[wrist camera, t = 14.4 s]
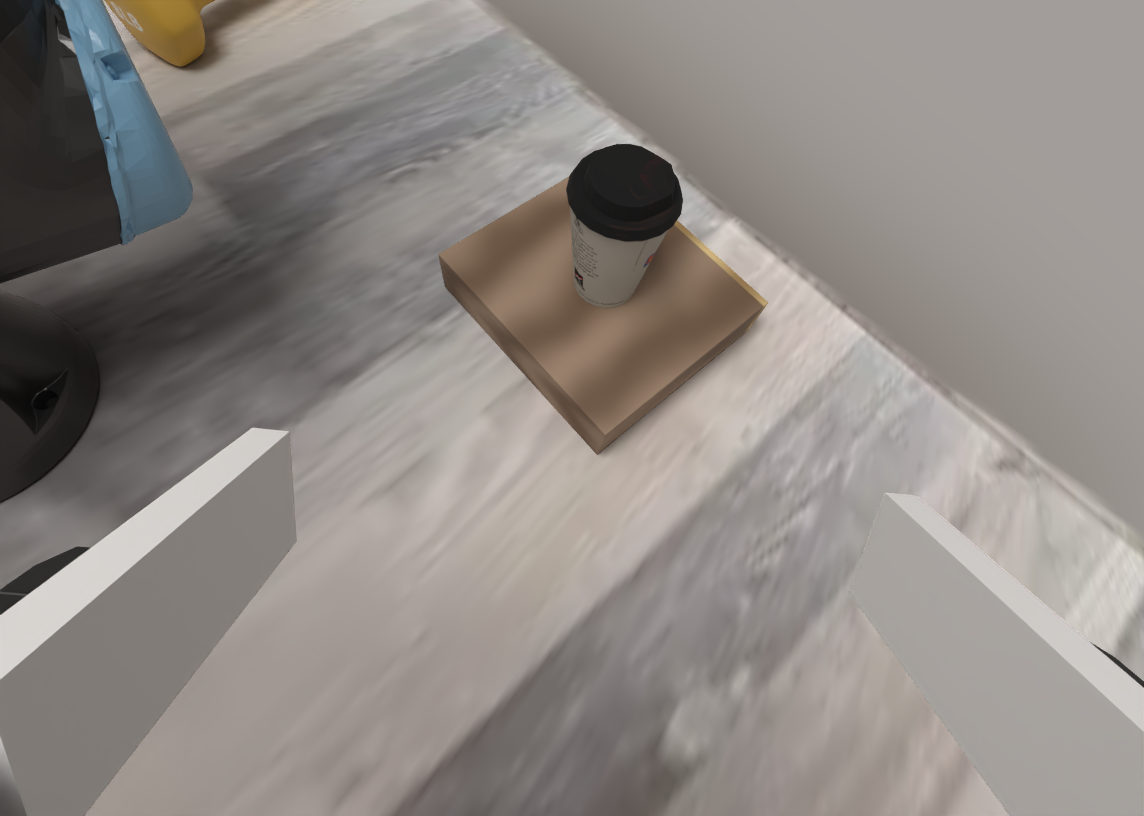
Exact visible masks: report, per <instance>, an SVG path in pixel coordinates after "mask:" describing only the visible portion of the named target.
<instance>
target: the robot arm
mask: <svg viewBox="0 0 1144 816" xmlns="http://www.w3.org/2000/svg"><path fill="white" fill-rule="evenodd" d="M192 193H193V190H192V184H191V182H190V179H189V177H188V175H187V172H186V170H185V168H184V166H183V164H182V162H181V160H180V158H179V156H178V154H177V152H176V150H175V148H174V145H173V143H172V141H171V139H170V137H169V135H168V133H167V131H166V129H165V127H164V125H163V123H162V121H161V119H160V117H159V115H158V113H157V111H156V109H155V106H154V104H153V102H152V100H151V98H150V96H149V94H148V92H147V90H146V88H145V86H144V84H143V82H142V80H141V78H140V76H139V74H138V72H137V70H136V68H135V66H134V64H133V62H132V60H131V58H130V56H129V54H128V52H127V50H126V48H125V45H124V43H123V41H122V39H121V37H120V35H119V33H118V31H117V29H116V27H115V25H114V23H113V21H112V19H111V17H110V15H109V13H108V11H107V9H106V7H105V5H104V3H103V1H102V0H0V283H3V282H6V281H9V280H12V279H15V278H18V277H21V276H24V275H27V274H30V273H33V272H36V271H39V270H42V269H45V268H48V267H51V266H54V265H57V264H60V263H63V262H66V261H69V260H72V259H75V258H78V257H81V256H84V255H87V254H90V253H93V252H96V251H99V250H102V249H105V248H108V247H111V246H114V245H117V244H122V245H125V244H128V242H131V241H132V240H133V239H134V236H136V235H139V234H141V233H144V232H146V231H149V230H151V229H153V228H156V227H158V226H161V225H163V224H166V223H168V222H171V221H173V220H176V219H178V218H179V217H180V216H181V215H183V214H184V213H185V212H186V211H187V209H188V207H189V205H190V203H191V201H192ZM98 383H99V375H98V367H97V362H96V359H95V356H94V354H93V351H92V349H91V348H90V346H89V344H88V343H87V341H86V340H85V339H84V337H83V336H82V335H81V334H80V333H79V332H78V331H77V330H75V329H74V328H73V327H72V326H70V325H69V324H67V323H66V322H65V321H63V320H62V319H60V318H59V317H58V316H56V315H55V314H53V313H52V312H51V311H49V310H47V309H46V308H44V307H42V306H40V305H38V304H36V303H34V302H32V301H30V300H27V299H25V298H22V297H18V296H15V295H12V294H8V293H5V292H2V291H0V501H2V500H4V499H6V498H8V497H10V496H12V495H14V494H16V493H17V492H19V491H21V490H22V489H24V488H26V487H27V486H29V485H30V484H32V483H33V482H34V481H36V480H37V479H38V478H40V477H41V476H42V475H44V474H45V473H46V472H47V471H48V470H50V469H51V468H52V467H53V466H54V465H55V464H56V463H57V462H58V461H59V460H60V459H61V458H62V457H63V456H64V455H65V454H66V453H67V452H68V450H69V449H70V448H71V447H72V446H73V444H74V443H75V442H76V440H77V439H78V437H79V436H80V434H81V433H82V431H83V430H84V428H85V426H86V424H87V422H88V420H89V418H90V416H91V413H92V411H93V408H94V405H95V401H96V398H97V392H98ZM296 541H297V540H296V525H295V509H294V494H293V479H292V463H291V448H290V432H289V431H280V430H270V429H260V428H251V429H250V430H249V431H247V432H246V433H245V434H243V435H242V436H241V437H239V438H238V439H237V440H235V441H234V442H233V443H231V444H230V445H229V446H227V447H226V448H224V449H223V450H222V451H220V452H219V453H218V454H216V455H215V456H214V457H212V458H211V459H210V460H208V461H207V462H206V463H204V464H203V465H202V466H200V467H199V468H198V469H196V470H195V471H194V472H192V473H191V474H190V475H188V476H187V477H185V478H184V479H183V480H181V481H180V482H179V483H177V484H176V485H175V486H173V487H172V488H171V489H169V490H168V491H167V492H165V493H164V494H163V495H161V496H160V497H159V498H157V499H156V500H155V501H153V502H152V503H151V504H149V505H148V506H147V507H145V508H144V509H142V510H141V511H140V512H138V513H137V514H136V515H134V516H133V517H132V518H130V519H129V520H128V521H126V522H125V523H124V524H122V525H121V526H120V527H118V528H117V529H116V530H114V531H113V532H112V533H110V534H109V535H108V536H106V537H105V538H103V539H102V540H101V541H99V542H98V543H97V544H95V545H94V546H93V547H91V548H88V547H75V548H73V549H71V550H69V551H66V552H64V553H62V554H60V555H57V556H55V557H53V558H51V559H48V560H46V561H44V562H42V563H39V564H37V565H35V566H33V567H32V568H31V569H29V570H28V571H26V572H25V573H23V574H22V575H21V576H19V577H18V578H16V579H15V580H13V581H12V582H11V583H9V584H8V585H6V586H5V587H3V588H2V589H1V590H0V816H84V815H85V814H86V812H87V811H88V810H89V809H90V807H91V806H92V805H93V803H94V802H95V801H96V800H97V798H98V797H99V796H100V794H101V793H102V792H103V790H104V789H105V788H106V787H107V785H108V784H109V783H110V781H111V780H112V779H113V778H114V776H115V775H116V774H117V772H118V771H119V770H120V769H121V767H122V766H123V765H124V763H125V762H126V761H127V759H128V758H129V757H130V756H131V754H132V753H133V752H134V750H135V749H136V748H137V747H138V745H139V744H140V743H141V741H142V740H143V739H144V738H145V736H146V735H147V734H148V732H149V731H150V730H151V729H152V727H153V726H154V725H155V723H156V722H157V721H158V719H159V718H160V717H161V716H162V714H163V713H164V712H165V710H166V709H167V708H168V707H169V705H170V704H171V703H172V701H173V700H174V699H175V698H176V696H177V695H178V694H179V692H180V691H181V690H182V688H183V687H184V686H185V685H186V683H187V682H188V681H189V679H190V678H191V677H192V676H193V674H194V673H195V672H196V670H197V669H198V668H199V667H200V665H201V664H202V663H203V661H204V660H205V659H206V658H207V656H208V655H209V654H210V652H211V651H212V650H213V648H214V647H215V646H216V645H217V643H218V642H219V641H220V639H221V638H222V637H223V636H224V634H225V633H226V632H227V630H228V629H229V628H230V627H231V625H232V624H233V623H234V621H235V620H236V619H237V617H238V616H239V615H240V614H241V612H242V611H243V610H244V608H245V607H246V606H247V605H248V603H249V602H250V601H251V599H252V598H253V597H254V596H255V594H256V593H257V592H258V590H259V589H260V588H261V586H262V585H263V584H264V583H265V581H266V580H267V579H268V577H269V576H270V575H271V574H272V572H273V571H274V570H275V568H276V567H277V566H278V565H279V563H280V562H281V561H282V559H283V558H284V557H285V556H286V554H287V553H288V552H289V550H290V549H291V548H292V546H293V545H294V544H295V543H296ZM849 593H850V595H851V596H852V597H853V599H854V600H855V602H856V603H857V604H858V606H859V607H860V608H861V610H862V611H863V613H864V614H865V615H866V617H867V618H868V620H869V621H870V622H871V624H872V625H873V627H874V628H875V629H876V631H877V632H878V633H879V635H880V636H881V638H882V639H883V640H884V642H885V643H886V645H887V646H888V647H889V649H890V650H891V652H892V653H893V654H894V656H895V657H896V659H897V660H898V661H899V663H900V664H901V665H902V667H903V668H904V670H905V671H906V672H907V674H908V675H909V677H910V678H911V679H912V681H913V682H914V684H915V685H916V686H917V688H918V689H919V690H920V692H921V693H922V695H923V696H924V697H925V699H926V700H927V702H928V703H929V704H930V706H931V707H932V709H933V710H934V711H935V713H936V714H937V716H938V717H939V718H940V720H941V721H942V722H943V724H944V725H945V727H946V728H947V729H948V731H949V732H950V734H951V735H952V736H953V738H954V739H955V741H956V742H957V743H958V745H959V746H960V747H961V749H962V750H963V752H964V753H965V754H966V756H967V757H968V759H969V760H970V761H971V763H972V764H973V766H974V767H975V768H976V770H977V771H978V773H979V774H980V775H981V777H982V778H983V779H984V781H985V782H986V784H987V785H988V786H989V788H990V789H991V791H992V792H993V793H994V795H995V796H996V798H997V799H998V800H999V802H1000V803H1001V804H1002V806H1003V807H1004V809H1005V810H1006V811H1007V813H1008V814H1009V816H1144V681H1142V680H1141V679H1140V678H1139V677H1138V676H1137V675H1135V674H1134V673H1133V672H1132V671H1131V670H1129V669H1128V668H1127V667H1126V666H1125V665H1123V664H1122V663H1121V662H1120V661H1119V660H1117V659H1116V658H1115V657H1113V656H1112V655H1110V654H1108V653H1107V652H1105V651H1104V650H1102V649H1100V648H1099V647H1097V646H1096V645H1094V644H1092V643H1091V642H1089V641H1088V640H1087V639H1086V638H1084V637H1083V636H1082V635H1081V634H1080V633H1078V632H1077V631H1076V630H1075V629H1074V628H1073V627H1071V626H1070V625H1069V624H1068V623H1067V622H1066V621H1064V620H1063V619H1062V618H1061V617H1060V616H1058V615H1057V614H1056V613H1055V612H1054V611H1053V610H1051V609H1050V608H1049V607H1048V606H1047V605H1045V604H1044V603H1043V602H1042V601H1041V600H1040V599H1038V598H1037V597H1036V596H1035V595H1034V594H1032V593H1031V592H1030V591H1029V590H1028V589H1027V588H1025V587H1024V586H1023V585H1022V584H1021V583H1020V582H1018V581H1017V580H1016V579H1015V578H1014V577H1012V576H1011V575H1010V574H1009V573H1008V572H1007V571H1005V570H1004V569H1003V568H1002V567H1001V566H999V565H998V564H997V563H996V562H995V561H994V560H992V559H991V558H990V557H989V556H988V555H987V554H985V553H984V552H983V551H982V550H981V549H979V548H978V547H977V546H976V545H975V544H974V543H972V542H971V541H970V540H969V539H968V538H966V537H965V536H964V535H963V534H962V533H961V532H959V531H958V530H957V529H956V528H955V527H953V526H952V525H951V524H950V523H949V522H948V521H946V520H945V519H944V518H943V517H942V516H941V515H939V514H938V513H937V512H936V511H935V510H933V509H932V508H931V507H930V506H929V505H928V504H926V503H925V502H924V501H923V500H922V499H920V498H919V497H918V496H915V495H905V494H895V493H886V492H885V493H884V495H883V498H882V501H881V504H880V506H879V509H878V512H877V515H876V518H875V520H874V523H873V526H872V529H871V531H870V534H869V537H868V540H867V542H866V545H865V548H864V551H863V553H862V556H861V559H860V562H859V564H858V567H857V570H856V573H855V575H854V578H853V581H852V584H851V587H850V589H849Z"/></svg>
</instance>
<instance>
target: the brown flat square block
mask: <svg viewBox="0 0 1144 816" xmlns="http://www.w3.org/2000/svg"><path fill="white" fill-rule="evenodd" d="M568 180H569V177H568V178H566V179H564V180H563V181H561V182H559V183H558V184H556V185H554V186H553V187H551V188H549V189H547V190H546V191H544V192H542V193H541V194H539V195H537V196H536V197H534V198H532V199H531V200H529V201H527V202H526V203H524V204H522V205H520V206H519V207H517V208H515V209H514V210H512V211H510V212H509V213H507V214H505V215H504V216H502V217H500V218H499V219H497V220H495V221H494V222H492V223H490V224H488V225H487V226H485V227H483V228H482V229H480V230H478V231H477V232H475V233H473V234H472V235H470V236H468V237H467V238H465V239H463V240H461V241H460V242H458V243H456V244H455V245H453V246H451V247H450V248H448V249H446V250H445V251H443V252H441V253H440V254H439V259H440V264H441V269H442V274H443V279H444V284H445V287H446V288H447V290H448V291H449V292H450V293H451V294H452V295H453V296H454V297H455V298H456V299H457V301H458V302H459V303H460V304H461V305H462V306H463V307H464V308H465V309H466V311H467V312H468V313H469V314H470V315H471V316H472V317H473V318H474V319H475V320H476V322H477V323H478V324H479V325H480V326H481V327H482V328H483V329H484V330H485V331H486V333H487V334H488V335H489V336H490V337H491V338H492V339H493V340H494V341H495V342H496V344H497V345H498V346H499V347H500V348H501V349H502V350H503V351H504V352H505V354H506V355H507V356H508V357H509V358H510V359H511V360H512V361H513V362H514V363H515V365H516V366H517V367H518V368H519V369H520V370H521V371H522V372H523V373H524V374H525V376H526V377H527V378H528V379H529V380H530V381H531V382H532V383H533V384H534V386H535V387H536V388H537V389H538V390H539V391H540V392H541V393H542V394H543V395H544V397H545V398H546V399H547V400H548V401H549V402H550V403H551V404H552V405H553V406H554V408H555V409H556V410H557V411H558V412H559V413H560V414H561V415H562V416H563V417H564V419H565V420H566V421H567V422H568V423H569V424H570V425H571V426H572V427H573V429H574V430H575V431H576V432H577V433H578V434H579V435H580V436H581V437H582V438H583V440H584V441H585V442H586V443H587V444H588V445H589V446H590V447H591V448H592V449H593V451H594V452H595V453H596V454H599V453H600V452H601V451H602V450H603V449H605V448H606V447H607V446H608V445H609V444H611V443H612V442H613V441H614V440H616V439H617V438H618V437H619V436H620V435H622V434H623V433H624V432H625V431H626V430H628V429H629V428H630V427H631V426H633V425H634V424H635V423H636V422H637V421H639V420H640V419H641V418H642V417H643V416H645V415H646V414H647V413H648V412H649V411H651V410H652V409H653V408H654V407H656V406H657V405H658V404H659V403H660V402H662V401H663V400H664V399H665V398H666V397H668V396H669V395H670V394H671V393H673V392H674V391H675V390H676V389H677V388H679V387H680V386H681V385H682V384H683V383H685V382H686V381H687V380H688V379H690V378H691V377H692V376H693V375H694V374H696V373H697V372H698V371H699V370H700V369H702V368H703V367H704V366H705V365H706V364H708V363H709V362H710V361H711V360H713V359H714V358H715V357H716V356H717V355H719V354H720V353H721V352H722V351H723V350H725V349H726V348H727V347H728V346H730V345H731V344H732V343H733V342H734V341H736V340H737V339H738V338H739V337H740V336H742V335H743V334H744V333H745V332H746V331H747V330H749V328H750V327H751V326H752V324H753V323H754V322H755V320H756V319H757V318H758V316H759V315H760V313H761V312H762V311H763V309H764V308H765V307H766V305H767V304H768V302H767V301H766V300H765V299H764V298H763V297H762V296H760V295H759V294H758V293H757V292H756V291H755V290H754V289H753V288H752V287H751V286H749V285H748V284H747V283H746V282H745V281H744V280H743V279H742V278H741V277H739V276H738V275H737V274H736V273H735V272H734V271H733V270H732V269H731V268H729V267H728V266H727V265H726V264H725V263H724V262H723V261H722V260H721V259H720V258H718V257H717V256H716V255H715V254H714V253H713V252H712V251H711V250H710V249H708V248H707V247H706V246H705V245H704V244H703V243H702V242H701V241H700V240H699V239H697V238H696V237H695V236H694V235H693V234H692V233H691V232H690V231H689V230H687V229H686V228H685V227H684V226H683V225H682V224H681V223H680V222H679V221H676V223H675V224H674V226H673V227H671V228H670V229H669V230H668V231H667V233H666V235H665V236H664V238H663V240H662V242H661V244H660V246H659V247H658V249H657V251H656V253H655V255H654V256H653V258H652V260H651V262H650V264H649V266H648V267H647V269H646V271H645V273H644V275H643V277H642V278H641V280H640V282H639V284H638V286H637V287H636V289H635V291H634V293H633V294H632V296H631V298H630V299H629V300H628V301H626V302H625V303H624V304H622V305H619V306H616V307H611V308H602V307H598V306H594V305H592V304H590V303H588V302H586V301H585V300H584V299H583V298H582V297H581V296H579V294H578V293H577V291H576V289H575V287H574V281H573V260H572V236H571V212H570V206H569V204H568V198H567V192H566V188H567V184H568Z"/></svg>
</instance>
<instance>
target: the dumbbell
mask: <svg viewBox="0 0 1144 816" xmlns="http://www.w3.org/2000/svg"><path fill="white" fill-rule="evenodd" d="M105 1H106V3H107V4H108V6H109V7H110V8H111V10H112V11H113V12H114V13H115V15H116V16H117V17H118V18H119V19H120V21H121V22H122V23H123V24H124V26H125V27H126V28H127V29H128V31H129V32H130V33H131V34H132V35H133V36H134V37H135V38H136V39H137V40H138V41H139V42H140V43H141V44H142V45H143V46H144V47H146V48H147V49H149V50H150V51H152V52H153V53H155V54H156V55H158V56H159V57H161V58H163V59H164V60H166V61H167V62H169V63H171V64H173V65H176V66H185V65H187V64H189V63H190V62H192V61H194V60H195V59H196V58H198V57H199V56H200V55H201V54H202V53H203V51H204V48H205V33H204V27H203V22H202V19H201V16H200V12H201V10H202V8H203V7H204V6H206V5H207V4H209V3H211V2H213V1H215V0H105Z"/></svg>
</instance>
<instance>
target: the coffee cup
mask: <svg viewBox="0 0 1144 816" xmlns="http://www.w3.org/2000/svg"><path fill="white" fill-rule="evenodd" d="M566 192H567V198H568V204H569V206H570V212H571V236H572V260H573V281H574V287H575V289H576V291H577V293H578V294H579V296H581V297H582V298H583V299H584V300H585V301H586V302H588V303H590V304H592V305H594V306H598V307H602V308H611V307H616V306H619V305H622V304H624V303H625V302H626V301H628V300H629V299H630V298H631V296H632V294H633V293H634V291H635V289H636V287H637V286H638V284H639V282H640V280H641V278H642V277H643V275H644V273H645V271H646V269H647V267H648V266H649V264H650V262H651V260H652V258H653V256H654V255H655V253H656V251H657V249H658V247H659V246H660V244H661V242H662V240H663V238H664V236H665V235H666V233H667V231H668V230H669V229H670V228H671V227H673V226H674V224H675V223H676V221H677V219H678V218H679V216H680V214H681V210H682V203H683V198H682V192H681V188H680V185H679V181H678V178H677V177H676V175H675V174H674V172H673V169H672V165H671V164H670V163H668V162H667V161H665V160H664V159H662V158H661V157H659V156H657V155H656V154H654V153H652V152H650V151H649V150H647V149H645V148H643V147H641V146H636V145H631V144H616V145H612V146H609V147H605V148H603V149H600V150H596V151H594V152H592V153H591V154H589V155H588V156H586V157H584V158H583V159H582V160H581V161H580V163H579V164H578V165H577V167H576V168H575V169H574V170H573V172H572V173H571V175H570V176H569V180H568V184H567V188H566Z"/></svg>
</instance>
